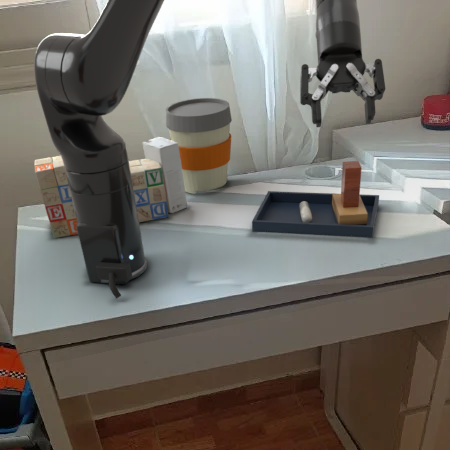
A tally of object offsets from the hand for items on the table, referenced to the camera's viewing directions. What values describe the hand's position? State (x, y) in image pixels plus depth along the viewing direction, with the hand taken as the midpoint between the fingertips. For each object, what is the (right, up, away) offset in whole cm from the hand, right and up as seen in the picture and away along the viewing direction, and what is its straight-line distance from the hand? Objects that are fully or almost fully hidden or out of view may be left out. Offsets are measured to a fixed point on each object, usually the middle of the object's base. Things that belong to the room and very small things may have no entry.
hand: (344, 123), depth 104 cm
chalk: (-6, -15, +3) cm, 17 cm away
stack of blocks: (-42, -14, +9) cm, 45 cm away
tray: (-4, -16, +3) cm, 17 cm away
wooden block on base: (+1, -16, +1) cm, 16 cm away
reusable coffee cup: (-25, -4, +20) cm, 32 cm away
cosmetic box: (-31, -11, +13) cm, 35 cm away
